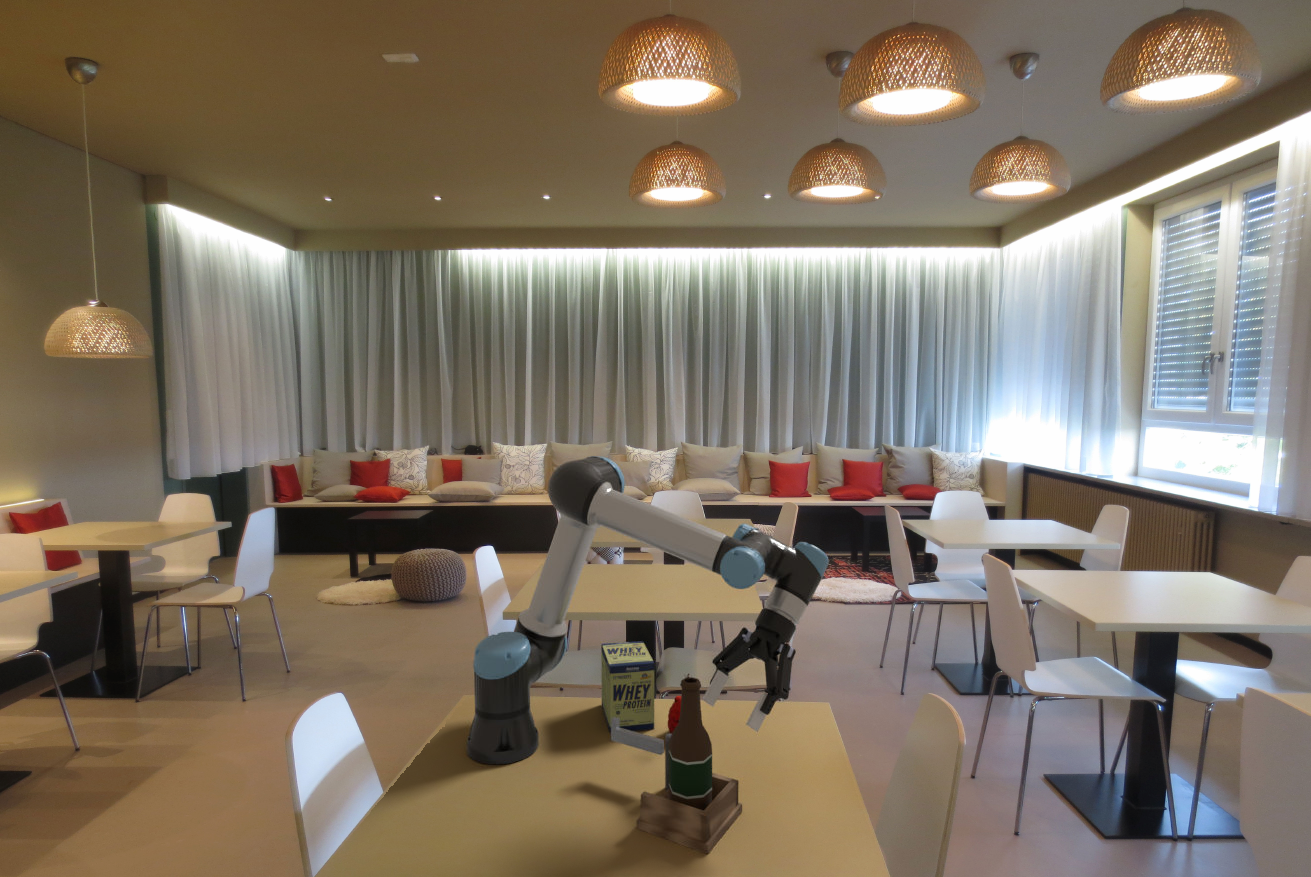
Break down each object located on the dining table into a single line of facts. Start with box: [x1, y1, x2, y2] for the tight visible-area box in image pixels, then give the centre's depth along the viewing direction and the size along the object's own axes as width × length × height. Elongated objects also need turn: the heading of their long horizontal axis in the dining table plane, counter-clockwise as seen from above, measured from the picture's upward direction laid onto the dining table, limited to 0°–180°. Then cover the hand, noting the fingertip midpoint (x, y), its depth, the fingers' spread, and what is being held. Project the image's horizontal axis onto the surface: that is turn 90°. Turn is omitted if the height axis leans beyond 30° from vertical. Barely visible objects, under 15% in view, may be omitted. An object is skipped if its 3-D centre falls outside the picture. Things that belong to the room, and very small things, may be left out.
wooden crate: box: [635, 732, 743, 855], centre depth 129 cm, size 16×15×10 cm
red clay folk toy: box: [667, 673, 703, 734], centre depth 160 cm, size 8×7×15 cm
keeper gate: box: [610, 716, 665, 756], centre depth 141 cm, size 12×1×4 cm, turn 60°
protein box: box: [600, 641, 655, 734], centre depth 169 cm, size 10×16×16 cm
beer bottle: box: [669, 676, 713, 811], centre depth 127 cm, size 8×8×24 cm
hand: (728, 715), depth 136 cm, fingers open, 13 cm apart
